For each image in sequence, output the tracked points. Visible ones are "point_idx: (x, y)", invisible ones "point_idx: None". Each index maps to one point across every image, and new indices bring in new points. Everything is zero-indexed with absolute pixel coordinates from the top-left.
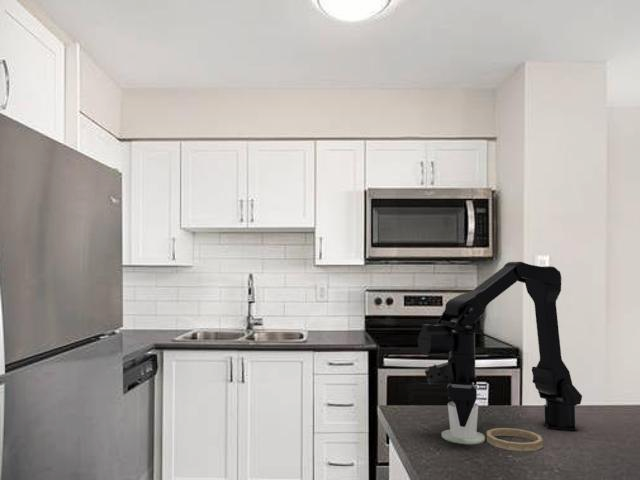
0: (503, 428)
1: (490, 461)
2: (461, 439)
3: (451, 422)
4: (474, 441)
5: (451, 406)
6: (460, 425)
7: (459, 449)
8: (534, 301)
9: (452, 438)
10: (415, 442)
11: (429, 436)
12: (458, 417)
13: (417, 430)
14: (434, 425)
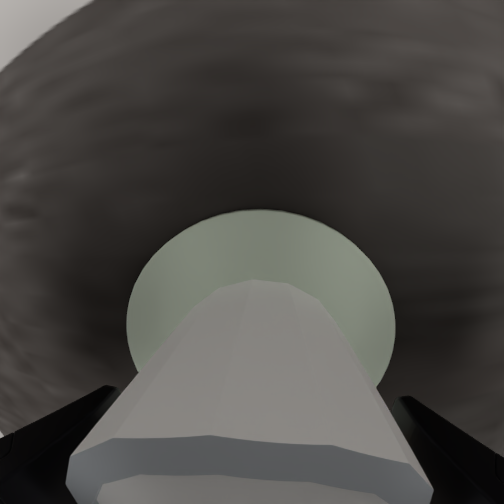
0: None
1: (16, 394)
2: (158, 341)
3: (184, 331)
4: None
5: (84, 446)
6: (104, 389)
7: (55, 313)
8: None
9: (155, 290)
10: (75, 73)
11: (218, 124)
12: (51, 414)
13: (340, 38)
14: (484, 160)
